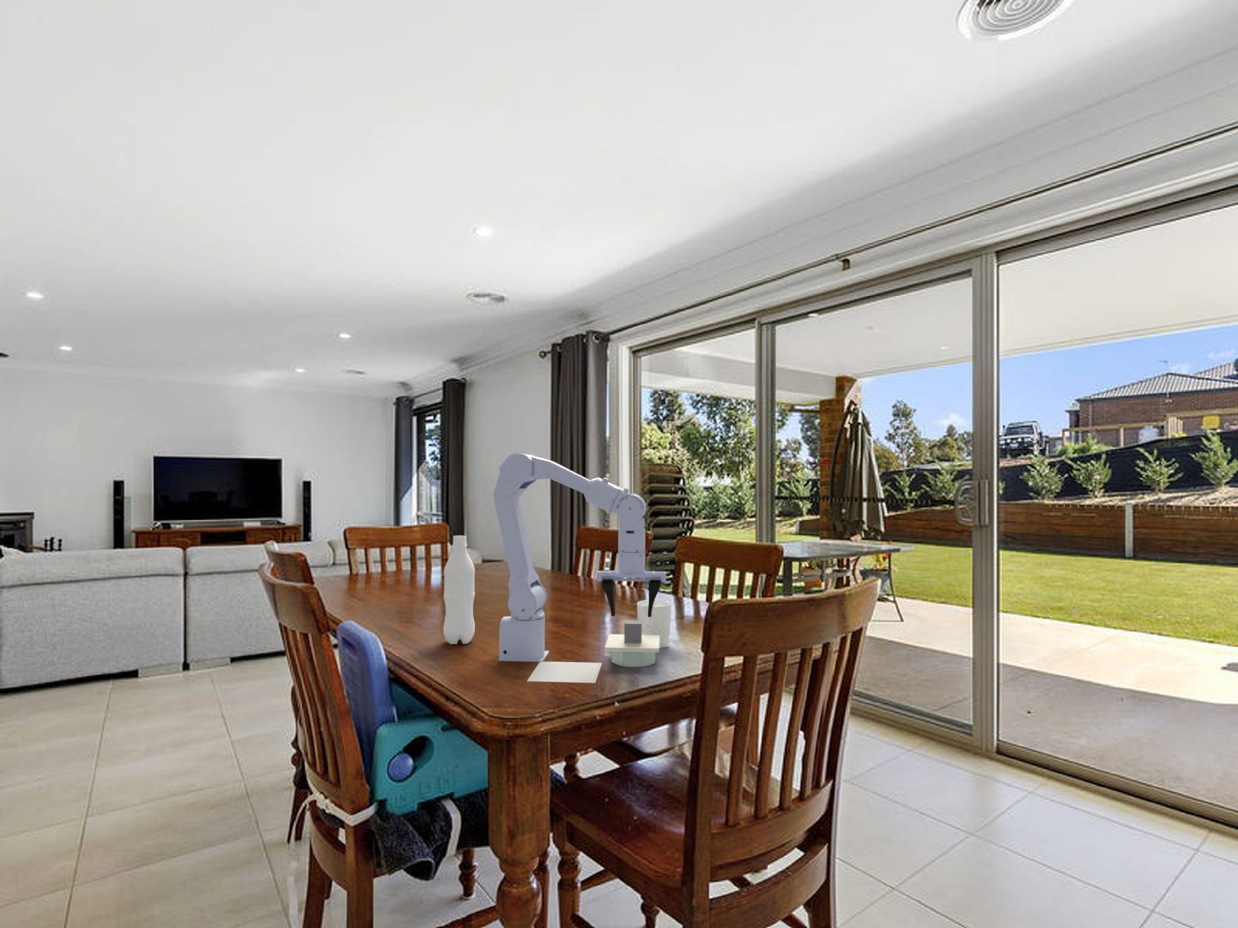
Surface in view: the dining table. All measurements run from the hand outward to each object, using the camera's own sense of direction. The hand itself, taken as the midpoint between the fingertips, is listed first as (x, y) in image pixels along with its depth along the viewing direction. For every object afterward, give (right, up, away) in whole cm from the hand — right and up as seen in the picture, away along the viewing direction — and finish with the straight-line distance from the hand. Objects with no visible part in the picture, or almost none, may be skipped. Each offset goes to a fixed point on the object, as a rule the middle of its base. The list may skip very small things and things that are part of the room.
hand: (631, 615), depth 137 cm
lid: (0, -6, -1) cm, 6 cm away
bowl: (+1, -10, -1) cm, 10 cm away
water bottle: (-40, -10, +16) cm, 45 cm away
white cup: (+6, -10, +13) cm, 17 cm away
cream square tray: (-13, -10, -8) cm, 18 cm away
